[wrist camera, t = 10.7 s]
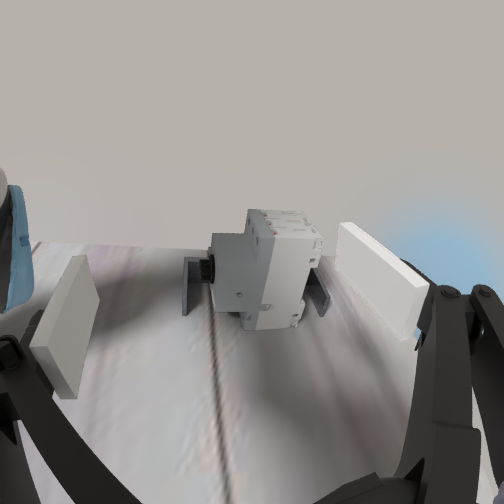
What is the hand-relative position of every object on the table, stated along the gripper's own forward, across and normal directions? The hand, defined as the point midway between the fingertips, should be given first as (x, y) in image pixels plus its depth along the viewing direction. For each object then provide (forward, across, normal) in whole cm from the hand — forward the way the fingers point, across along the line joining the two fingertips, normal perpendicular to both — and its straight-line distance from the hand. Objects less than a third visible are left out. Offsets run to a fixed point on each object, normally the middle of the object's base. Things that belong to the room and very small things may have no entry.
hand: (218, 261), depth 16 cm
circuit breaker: (+24, +6, -22) cm, 33 cm away
